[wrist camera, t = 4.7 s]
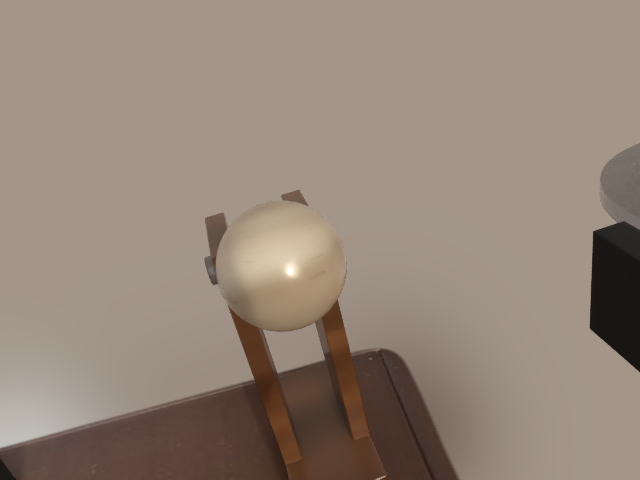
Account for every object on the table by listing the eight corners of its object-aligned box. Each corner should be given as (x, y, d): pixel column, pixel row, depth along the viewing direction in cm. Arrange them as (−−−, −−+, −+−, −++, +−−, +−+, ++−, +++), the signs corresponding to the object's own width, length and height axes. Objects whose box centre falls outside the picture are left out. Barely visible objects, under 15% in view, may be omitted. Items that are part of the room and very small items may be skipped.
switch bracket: (406, 518, 31) (348, 250, 23) (304, 557, 31) (203, 296, 22) (353, 396, 40) (297, 168, 31) (272, 424, 39) (191, 199, 31)
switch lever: (375, 316, 14) (333, 178, 14) (236, 362, 14) (191, 220, 13) (310, 274, 29) (290, 208, 29) (244, 296, 29) (222, 228, 29)
